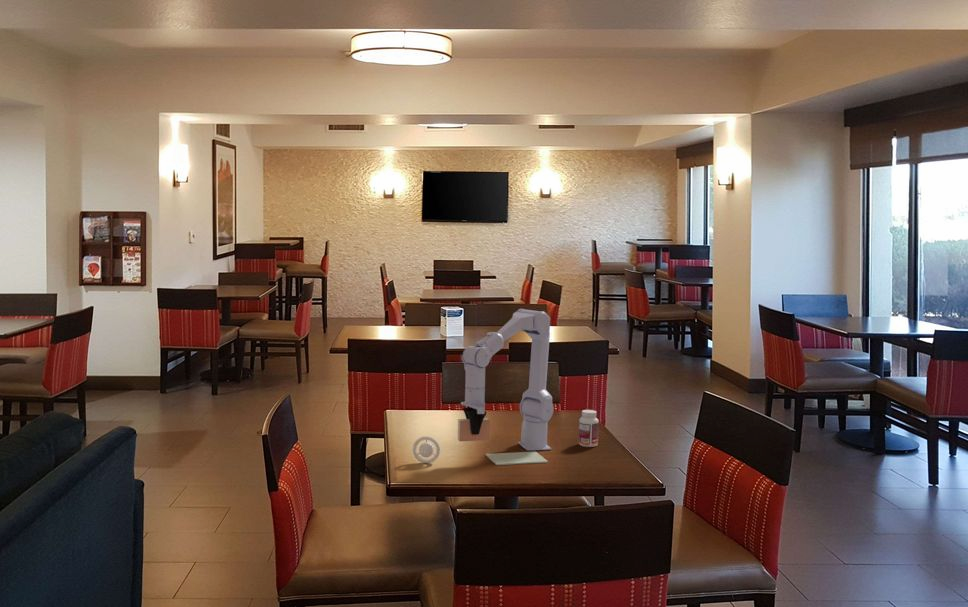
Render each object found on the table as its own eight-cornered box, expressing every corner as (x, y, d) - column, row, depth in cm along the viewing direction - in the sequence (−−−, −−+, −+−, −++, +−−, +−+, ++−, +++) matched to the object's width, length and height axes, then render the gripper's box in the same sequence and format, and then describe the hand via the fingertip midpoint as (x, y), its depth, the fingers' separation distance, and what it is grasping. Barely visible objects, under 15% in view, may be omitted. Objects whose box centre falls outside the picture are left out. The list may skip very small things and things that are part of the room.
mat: (485, 455, 273) (485, 453, 273) (535, 452, 277) (535, 451, 277) (496, 465, 262) (496, 463, 262) (547, 462, 267) (547, 461, 267)
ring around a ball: (440, 462, 264) (441, 435, 263) (438, 467, 258) (438, 440, 257) (413, 460, 264) (413, 434, 263) (410, 466, 259) (411, 439, 258)
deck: (457, 439, 263) (458, 419, 263) (486, 438, 266) (487, 418, 265) (459, 441, 261) (460, 421, 260) (489, 440, 264) (489, 420, 263)
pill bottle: (594, 442, 292) (595, 409, 291) (600, 447, 286) (601, 413, 285) (576, 442, 291) (577, 409, 290) (581, 447, 285) (582, 413, 284)
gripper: (455, 383, 268) (454, 427, 269) (468, 392, 254) (467, 439, 255) (478, 382, 270) (477, 426, 271) (492, 391, 256) (490, 438, 257)
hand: (473, 433), depth 263 cm, fingers closed on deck, 2 cm apart
